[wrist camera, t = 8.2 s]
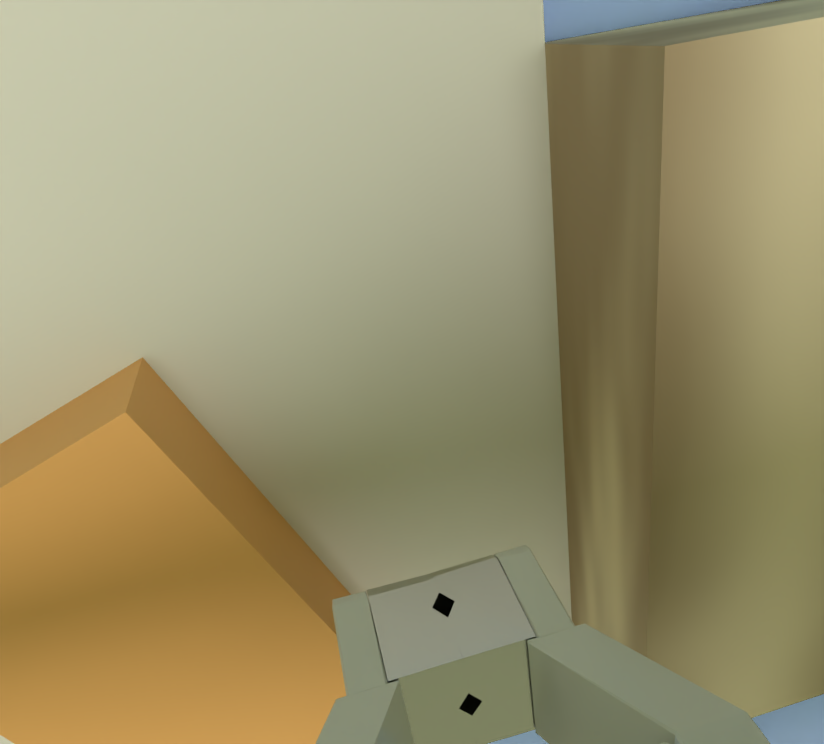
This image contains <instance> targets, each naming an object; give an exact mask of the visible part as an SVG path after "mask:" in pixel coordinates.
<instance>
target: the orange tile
mask: <svg viewBox="0 0 824 744" xmlns="http://www.w3.org/2000/svg"><path fill="white" fill-rule="evenodd" d="M348 595H351V594H350V593H349V592H348V590H347V589H346V588H345V587H344V586H343V585H342V584H341V583H340V581H339V580H338V579H337V578H336V577H335V576H334V575H333V573H332V572H331V571H330V570H329V569H328V568H327V567H326V565H325V564H324V563H323V562H322V561H321V560H320V559H319V557H318V556H317V555H316V554H315V553H314V552H313V551H312V550H311V548H310V547H309V546H308V545H307V544H306V543H305V542H304V540H303V539H302V538H301V537H300V536H299V535H298V534H297V532H296V531H295V530H294V529H293V528H292V527H291V526H290V524H289V523H288V522H287V521H286V520H285V519H284V518H283V517H282V515H281V514H280V513H279V512H278V511H277V510H276V509H275V507H274V506H273V505H272V504H271V503H270V502H269V501H268V499H267V498H266V497H265V496H264V495H263V494H262V493H261V491H260V490H259V489H258V488H257V487H256V486H255V485H254V484H253V482H252V481H251V480H250V479H249V478H248V477H247V476H246V474H245V473H244V472H243V471H242V470H241V469H240V468H239V466H238V465H237V464H236V463H235V462H234V461H233V460H232V458H231V457H230V456H229V455H228V454H227V453H226V452H225V451H224V449H223V448H222V447H221V446H220V445H219V444H218V443H217V441H216V440H215V439H214V438H213V437H212V436H211V435H210V433H209V432H208V431H207V430H206V429H205V428H204V427H203V425H202V424H201V423H200V422H199V421H198V420H197V419H196V418H195V416H194V415H193V414H192V413H191V412H190V411H189V410H188V408H187V407H186V406H185V405H184V404H183V403H182V402H181V400H180V399H179V398H178V397H177V396H176V395H175V394H174V392H173V391H172V390H171V389H170V388H169V387H168V386H167V385H166V383H165V382H164V381H163V380H162V379H161V378H160V377H159V375H158V374H157V373H156V372H155V371H154V370H153V369H152V367H151V366H150V365H149V364H148V363H147V362H146V361H145V359H144V358H143V357H142V358H141V359H139V360H137V361H136V362H134V363H132V364H131V365H129V366H127V367H126V368H124V369H122V370H121V371H119V372H118V373H116V374H114V375H113V376H111V377H109V378H108V379H106V380H104V381H103V382H101V383H99V384H98V385H96V386H95V387H93V388H91V389H90V390H88V391H86V392H85V393H83V394H81V395H80V396H78V397H77V398H75V399H73V400H72V401H70V402H68V403H67V404H65V405H63V406H62V407H60V408H58V409H57V410H55V411H54V412H52V413H50V414H49V415H47V416H45V417H44V418H42V419H40V420H39V421H37V422H36V423H34V424H32V425H31V426H29V427H27V428H26V429H24V430H22V431H21V432H19V433H17V434H16V435H14V436H13V437H11V438H9V439H8V440H6V441H4V442H3V443H1V444H0V735H1V736H3V737H4V738H6V739H8V740H9V741H11V742H13V743H14V744H315V743H316V741H317V739H318V737H319V735H320V733H321V730H322V728H323V726H324V724H325V722H326V720H327V718H328V715H329V713H330V711H331V709H332V707H333V705H334V703H335V700H336V699H338V698H341V697H344V696H346V691H345V684H344V678H343V672H342V666H341V660H340V654H339V648H338V641H337V635H336V629H335V623H334V617H333V611H332V600H333V599H336V598H340V597H344V596H348Z"/></svg>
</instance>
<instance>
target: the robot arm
mask: <svg viewBox="0 0 824 744" xmlns="http://www.w3.org/2000/svg"><path fill="white" fill-rule="evenodd" d="M367 594H368V597H367ZM368 599H369V601H368ZM369 603H370V604H369ZM332 611H333V617H334V623H335V629H336V635H337V641H338V648H339V654H340V660H341V666H342V672H343V678H344V684H345V691H346V696H344V697H341V698H338V699H336V700H335V703H334V705H333V707H332V709H331V711H330V713H329V715H328V718H327V720H326V722H325V724H324V726H323V728H322V730H321V733H320V735H319V737H318V739H317V741H316V743H315V744H487V743H491V742H494V741H497V740H501V739H504V738H508V737H511V736H514V735H518V734H521V733H525V732H528V731H531V730H535V729H536V733H537V734H538V735H539V736H541V737H542V738H543V739H544V740H545V741H546V742H548V743H549V744H770V742H769V741H768V740H767V738H766V737H765V736H764V734H763V733H762V732H761V730H760V729H759V728H758V726H757V725H756V724H755V722H754V721H753V720H752V719H751V717H750V716H749V715H748V713H747V712H745V711H744V710H742V709H740V708H738V707H736V706H734V705H733V704H731V703H729V702H727V701H725V700H724V699H722V698H720V697H718V696H716V695H714V694H713V693H711V692H709V691H707V690H705V689H704V688H702V687H700V686H698V685H696V684H694V683H693V682H691V681H689V680H687V679H685V678H684V677H682V676H680V675H678V674H676V673H674V672H673V671H671V670H669V669H667V668H665V667H663V666H662V665H660V664H658V663H656V662H654V661H653V660H651V659H649V658H647V657H645V656H643V655H642V654H640V653H638V652H636V651H634V650H633V649H631V648H629V647H627V646H625V645H623V644H622V643H620V642H618V641H616V640H614V639H613V638H611V637H609V636H607V635H605V634H603V633H602V632H600V631H598V630H596V629H594V628H592V627H591V626H589V625H587V624H581V625H577V626H575V625H574V623H573V621H572V620H571V618H570V616H569V615H568V613H567V611H566V609H565V608H564V606H563V604H562V602H561V601H560V599H559V597H558V596H557V594H556V592H555V590H554V589H553V587H552V585H551V583H550V582H549V580H548V578H547V577H546V575H545V573H544V571H543V570H542V568H541V566H540V564H539V563H538V561H537V559H536V557H535V556H534V554H533V552H532V551H531V549H530V548H529V547H527V546H526V545H523V546H520V547H516V548H513V549H509V550H506V551H503V552H499V553H496V554H494V556H493V555H489V556H486V557H483V558H479V559H476V560H472V561H469V562H466V563H462V564H459V565H456V566H452V567H449V568H445V569H442V570H439V571H435V572H432V573H430V574H427V575H423V576H419V577H415V578H411V579H407V580H403V581H400V582H396V583H392V584H388V585H384V586H380V587H376V588H372V589H369V590H367V593H366V591H364V592H360V593H356V594H352V595H348V596H344V597H340V598H336V599H333V600H332Z"/></svg>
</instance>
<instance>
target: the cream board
mask: <svg viewBox="0 0 824 744" xmlns="http://www.w3.org/2000/svg"><path fill="white" fill-rule="evenodd" d="M142 357H143V358H144V359H145V361H146V362H147V363H148V364H149V365H150V366H151V367H152V369H153V370H154V371H155V372H156V373H157V374H158V375H159V377H160V378H161V379H162V380H163V381H164V382H165V383H166V385H167V386H168V387H169V388H170V389H171V390H172V391H173V392H174V394H175V395H176V396H177V397H178V398H179V399H180V400H181V402H182V403H183V404H184V405H185V406H186V407H187V408H188V410H189V411H190V412H191V413H192V414H193V415H194V416H195V418H196V419H197V420H198V421H199V422H200V423H201V424H202V425H203V427H204V428H205V429H206V430H207V431H208V432H209V433H210V435H211V436H212V437H213V438H214V439H215V440H216V441H217V443H218V444H219V445H220V446H221V447H222V448H223V449H224V451H225V452H226V453H227V454H228V455H229V456H230V457H231V458H232V460H233V461H234V462H235V463H236V464H237V465H238V466H239V468H240V469H241V470H242V471H243V472H244V473H245V474H246V476H247V477H248V478H249V479H250V480H251V481H252V482H253V484H254V485H255V486H256V487H257V488H258V489H259V490H260V491H261V493H262V494H263V495H264V496H265V497H266V498H267V499H268V501H269V502H270V503H271V504H272V505H273V506H274V507H275V509H276V510H277V511H278V512H279V513H280V514H281V515H282V517H283V518H284V519H285V520H286V521H287V522H288V523H289V524H290V526H291V527H292V528H293V529H294V530H295V531H296V532H297V534H298V535H299V536H300V537H301V538H302V539H303V540H304V542H305V543H306V544H307V545H308V546H309V547H310V548H311V550H312V551H313V552H314V553H315V554H316V555H317V556H318V557H319V559H320V560H321V561H322V562H323V563H324V564H325V565H326V567H327V568H328V569H329V570H330V571H331V572H332V573H333V575H334V576H335V577H336V578H337V579H338V580H339V581H340V583H341V584H342V585H343V586H344V587H345V588H346V589H347V590H348V592H349V593H350V594H351V595H352V594H356V593H360V592H364V591H366V593H367V590H369V589H372V588H376V587H380V586H384V585H388V584H392V583H396V582H400V581H403V580H407V579H411V578H415V577H419V576H423V575H427V574H430V573H432V572H435V571H439V570H442V569H445V568H449V567H452V566H456V565H459V564H462V563H466V562H469V561H472V560H476V559H479V558H483V557H486V556H489V555H493V556H494V554H496V553H499V552H503V551H506V550H509V549H513V548H516V547H520V546H523V545H526V546H527V547H529V548H530V549H531V551H532V552H533V554H534V556H535V557H536V559H537V561H538V563H539V564H540V566H541V568H542V570H543V571H544V573H545V575H546V577H547V578H548V580H549V582H550V583H551V585H552V587H553V589H554V590H555V592H556V594H557V596H558V597H559V599H560V601H561V602H562V604H563V606H564V608H565V609H566V611H567V613H568V615H569V616H570V618H571V620H572V615H571V593H570V572H569V551H568V529H567V508H566V486H565V465H564V443H563V422H562V400H561V379H560V357H559V336H558V314H557V293H556V271H555V250H554V228H553V207H552V185H551V164H550V143H549V121H548V100H547V78H546V57H545V35H544V14H543V0H0V444H1V443H3V442H4V441H6V440H8V439H9V438H11V437H13V436H14V435H16V434H17V433H19V432H21V431H22V430H24V429H26V428H27V427H29V426H31V425H32V424H34V423H36V422H37V421H39V420H40V419H42V418H44V417H45V416H47V415H49V414H50V413H52V412H54V411H55V410H57V409H58V408H60V407H62V406H63V405H65V404H67V403H68V402H70V401H72V400H73V399H75V398H77V397H78V396H80V395H81V394H83V393H85V392H86V391H88V390H90V389H91V388H93V387H95V386H96V385H98V384H99V383H101V382H103V381H104V380H106V379H108V378H109V377H111V376H113V375H114V374H116V373H118V372H119V371H121V370H122V369H124V368H126V367H127V366H129V365H131V364H132V363H134V362H136V361H137V360H139V359H141V358H142ZM367 597H368V594H367ZM368 601H369V599H368ZM369 604H370V603H369ZM0 744H14V743H13V742H11V741H9V740H8V739H6V738H4V737H3V736H1V735H0Z"/></svg>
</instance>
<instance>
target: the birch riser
mask: <svg viewBox="0 0 824 744" xmlns="http://www.w3.org/2000/svg"><path fill="white" fill-rule="evenodd" d="M545 57H546V78H547V100H548V121H549V143H550V164H551V185H552V207H553V228H554V250H555V271H556V293H557V314H558V336H559V357H560V379H561V400H562V422H563V443H564V465H565V486H566V508H567V529H568V551H569V572H570V593H571V615H572V621H573V623H574V625H575V626H577V625H581V624H587V625H589V626H591V627H592V628H594V629H596V630H598V631H600V632H602V633H603V634H605V635H607V636H609V637H611V638H613V639H614V640H616V641H618V642H620V643H622V644H623V645H625V646H627V647H629V648H631V649H633V650H634V651H636V652H638V653H640V654H642V655H643V656H645V657H647V658H649V659H651V660H653V661H654V662H656V663H658V664H660V665H662V666H663V667H665V668H667V669H669V670H671V671H673V672H674V673H676V674H678V675H680V676H682V677H684V678H685V679H687V680H689V681H691V682H693V683H694V684H696V685H698V686H700V687H702V688H704V689H705V690H707V691H709V692H711V693H713V694H714V695H716V696H718V697H720V698H722V699H724V700H725V701H727V702H729V703H731V704H733V705H734V706H736V707H738V708H740V709H742V710H744V711H745V712H747V713H748V715H749V716H750V717H751V718H753V717H756V716H759V715H762V714H765V713H768V712H771V711H774V710H777V709H780V708H783V707H786V706H789V705H792V704H795V703H798V702H801V701H804V700H807V699H810V698H813V697H816V696H819V695H822V694H824V0H780V1H775V2H769V3H763V4H758V5H752V6H747V7H741V8H735V9H730V10H724V11H718V12H713V13H707V14H702V15H696V16H690V17H685V18H679V19H673V20H668V21H662V22H657V23H651V24H645V25H640V26H634V27H628V28H623V29H617V30H612V31H606V32H600V33H595V34H589V35H583V36H578V37H572V38H566V39H561V40H555V41H550V42H545Z"/></svg>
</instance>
